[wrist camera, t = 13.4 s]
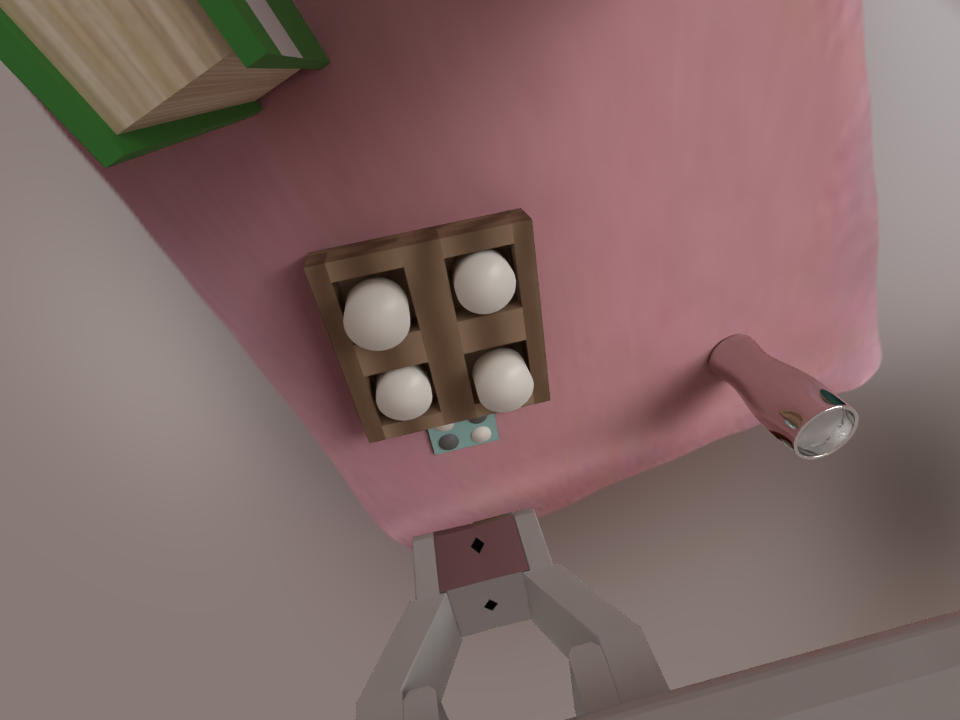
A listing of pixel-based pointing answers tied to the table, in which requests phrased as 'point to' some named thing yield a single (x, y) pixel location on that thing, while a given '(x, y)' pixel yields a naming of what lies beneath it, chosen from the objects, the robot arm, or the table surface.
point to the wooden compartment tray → (434, 316)
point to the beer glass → (784, 398)
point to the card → (463, 434)
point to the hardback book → (152, 65)
